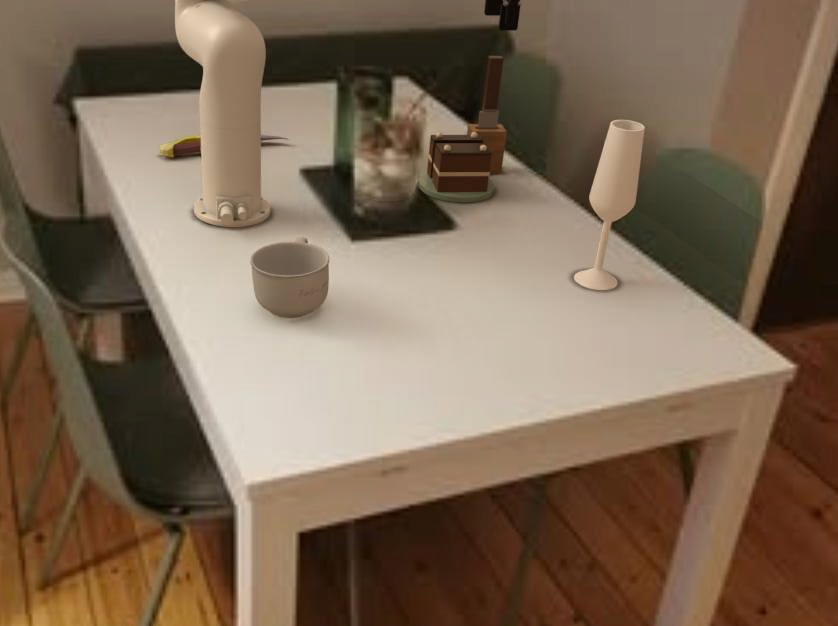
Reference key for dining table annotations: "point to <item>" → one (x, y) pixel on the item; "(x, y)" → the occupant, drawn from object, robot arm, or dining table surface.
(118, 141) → the dining table surface
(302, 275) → the teacup
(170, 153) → the knife
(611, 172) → the champagne flute
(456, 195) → the cake plate
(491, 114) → the cake knife
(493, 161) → the knife holder
